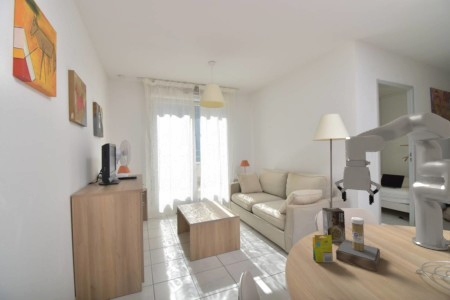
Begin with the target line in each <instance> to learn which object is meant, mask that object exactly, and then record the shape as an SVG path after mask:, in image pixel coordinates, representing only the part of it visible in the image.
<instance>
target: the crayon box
mask: <svg viewBox="0 0 450 300" xmlns="http://www.w3.org/2000/svg"><path fill="white" fill-rule="evenodd" d="M323 236H324V237H323ZM312 254H313V255H312V256H313V257H312V258H313V261H314V262H315V263H332V264H333V263H334V255H333V254H334V253H333V242H332V235H323V234H314V236H313V237H312Z"/></svg>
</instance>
